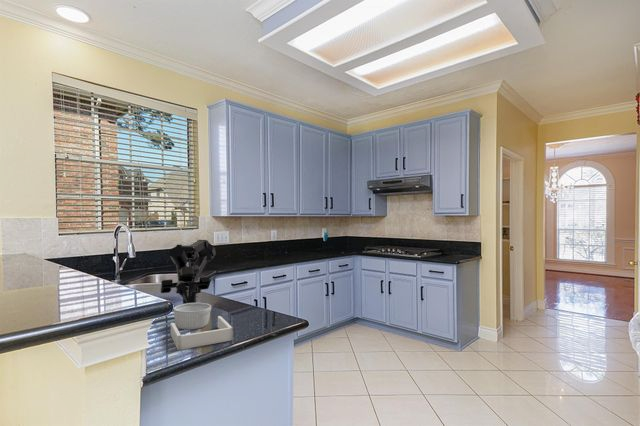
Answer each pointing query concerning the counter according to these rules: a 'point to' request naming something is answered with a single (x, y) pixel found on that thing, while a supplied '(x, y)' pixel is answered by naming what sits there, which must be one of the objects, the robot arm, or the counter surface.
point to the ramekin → (192, 315)
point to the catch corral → (202, 336)
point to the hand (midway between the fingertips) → (188, 302)
